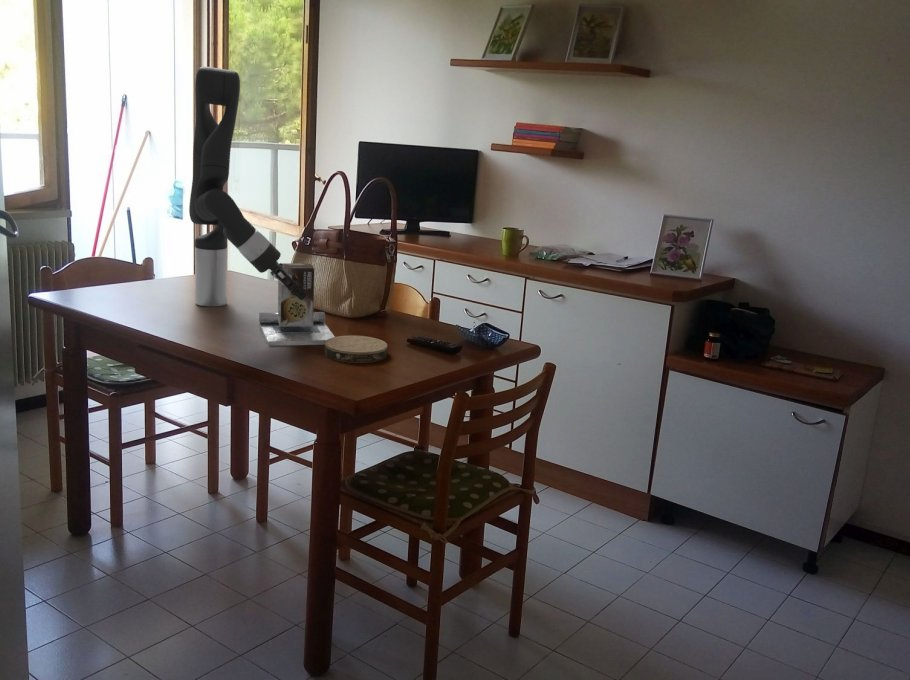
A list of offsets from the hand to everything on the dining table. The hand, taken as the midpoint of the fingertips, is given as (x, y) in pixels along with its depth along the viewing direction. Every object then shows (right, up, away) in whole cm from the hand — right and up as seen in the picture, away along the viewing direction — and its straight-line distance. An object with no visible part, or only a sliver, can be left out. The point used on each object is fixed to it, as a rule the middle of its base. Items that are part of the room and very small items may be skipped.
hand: (301, 294), depth 227 cm
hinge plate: (-1, -11, 0) cm, 11 cm away
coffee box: (-2, -8, +2) cm, 8 cm away
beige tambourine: (+16, -16, -13) cm, 26 cm away
